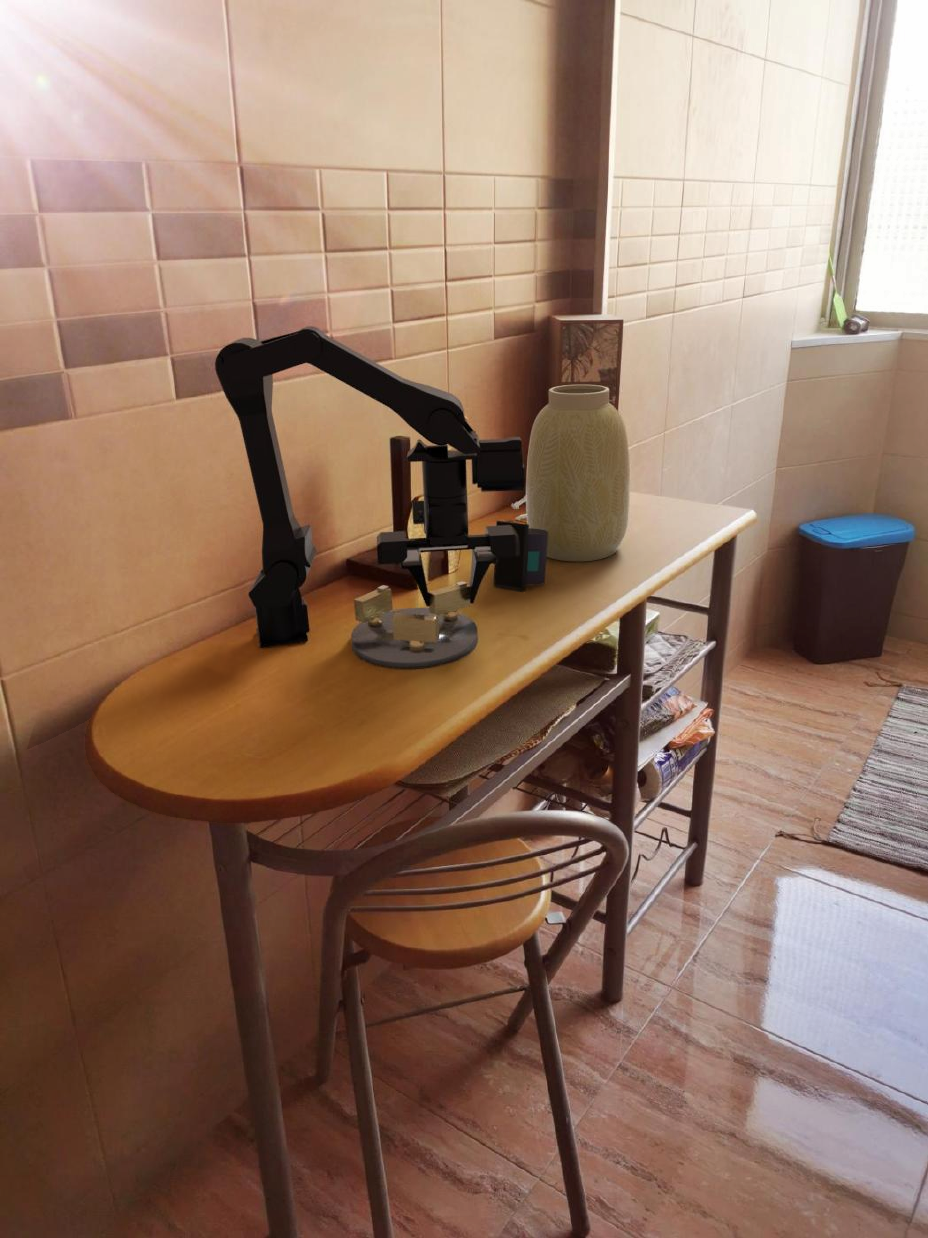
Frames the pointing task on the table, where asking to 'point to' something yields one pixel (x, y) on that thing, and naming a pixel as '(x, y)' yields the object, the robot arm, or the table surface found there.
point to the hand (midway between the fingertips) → (449, 603)
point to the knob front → (416, 629)
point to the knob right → (449, 601)
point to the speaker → (523, 560)
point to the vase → (579, 474)
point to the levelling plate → (396, 654)
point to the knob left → (373, 606)
